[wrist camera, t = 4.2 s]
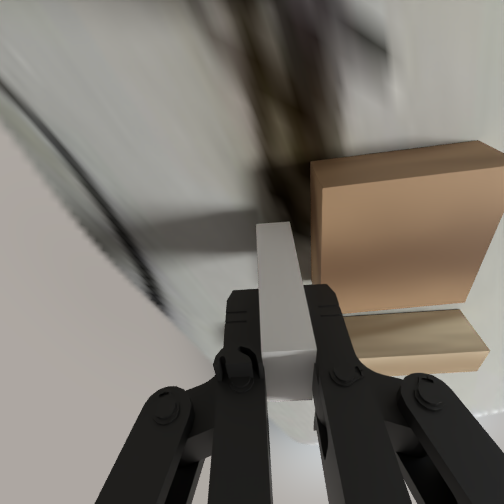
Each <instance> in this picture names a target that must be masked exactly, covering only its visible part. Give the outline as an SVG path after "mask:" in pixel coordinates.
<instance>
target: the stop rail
mask: <svg viewBox="0 0 504 504" xmlns="http://www.w3.org/2000/svg"><path fill="white" fill-rule="evenodd" d="M343 318H344V321H345V324H346V327H347V330H348V333H349V336H350V339H351V342H352V345H353V349H354V351H355V354H356V356H357V357H358V359H359V360H360V361H361V363H363V364H364V365H365V366H366V367H367V368H369V369H371V370H372V371H374V372H377V373H380V374H383V375H387V376H400V375H410V374H411V373H425V374H436V373H453V372H471V371H477V370H478V369H479V367H480V366H481V364H482V363H483V361H484V360H485V358H486V357H487V355H488V354H489V352H490V350H489V349H488V347H487V346H486V344H485V343H484V342H483V340H482V339H481V338H480V336H479V335H478V334H477V332H476V331H475V330H474V328H473V327H472V325H471V324H470V323H469V321H468V320H467V319H466V317H465V316H464V315H463V313H462V312H461V311H460V309H459V310H443V311H428V312H412V313H397V314H381V315H366V316H350V317H343Z"/></svg>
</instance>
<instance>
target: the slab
mask: <svg viewBox="0 0 504 504" xmlns="http://www.w3.org/2000/svg"><path fill="white" fill-rule="evenodd" d="M310 194H311V281H312V285H314V284H327V285H328V286H329V287H330V288H331V289H332V290H333V291H334V292H335V293H336V296H337V299H338V302H339V307H340V309H341V312H342V314H346V313H356V312H367V311H378V310H388V309H399V308H410V307H420V306H431V305H442V304H452V303H463V302H465V301H466V298H467V296H468V294H469V291H470V289H471V287H472V284H473V282H474V280H475V277H476V275H477V273H478V271H479V268H480V266H481V264H482V261H483V259H484V257H485V254H486V252H487V250H488V247H489V245H490V243H491V240H492V238H493V236H494V233H495V231H496V229H497V226H498V224H499V222H500V219H501V217H502V215H503V213H504V153H502V152H500V151H498V150H496V149H494V148H492V147H490V146H488V145H486V144H484V143H482V142H480V141H478V140H477V141H469V142H461V143H453V144H445V145H437V146H429V147H421V148H413V149H405V150H397V151H389V152H381V153H373V154H365V155H357V156H350V157H342V158H334V159H326V160H318V161H310Z"/></svg>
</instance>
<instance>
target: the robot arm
mask: <svg viewBox="0 0 504 504" xmlns="http://www.w3.org/2000/svg"><path fill="white" fill-rule="evenodd" d="M256 237H257V261H258V284H259V289H247V290H233V291H232V293H231V295H230V296H229V298H228V300H227V307H226V321H225V322H226V324H225V334H224V348H223V349H221V350H220V352H219V353H218V354H217V355H216V357H215V360H214V363H213V367H214V370H215V374H216V375H215V376H214V377H213V378H212V379H211V380H209V381H208V382H206V383H204V384H202V385H200V386H197V387H194V388H192V389H189V390H186V391H185V390H184V389H181V388H179V387H177V386H170V387H165V388H162V389H160V390H158V391H157V392H155V393H154V394H153V395H151V396H150V397H149V399H148V400H147V402H146V403H145V405H144V406H143V408H142V410H141V412H140V414H139V416H138V418H137V420H136V422H135V424H134V426H133V428H132V430H131V432H130V434H129V436H128V438H127V440H126V442H125V444H124V446H123V448H122V450H121V452H120V454H119V456H118V458H117V460H116V462H115V464H114V466H113V468H112V470H111V472H110V474H109V476H108V478H107V480H106V482H105V484H104V486H103V488H102V490H101V492H100V494H99V496H98V498H97V500H96V502H95V504H191V503H192V500H193V497H194V494H195V490H196V487H197V484H198V480H199V477H200V474H201V470H202V467H203V463H204V460H205V458H206V457H209V456H211V455H212V456H211V468H210V481H209V483H210V484H209V493H208V504H273V496H272V479H271V460H270V442H269V423H268V410H267V402H278V401H298V400H312V397H313V398H314V404H315V417H314V430H317V435H318V441H319V447H320V453H321V459H322V465H323V471H324V477H325V483H326V489H327V495H328V501H329V504H412V502H411V500H410V496H409V493H408V491H407V488H406V484H407V486H408V488H409V490H410V491H411V493H412V495H413V497H414V499H415V500H416V502H417V504H504V453H503V452H502V450H501V449H500V448H499V447H498V446H497V444H496V443H495V442H494V441H493V439H492V438H491V437H490V436H489V435H488V433H487V432H486V431H485V430H484V429H483V428H482V426H481V425H480V424H479V422H478V421H477V420H476V419H475V418H474V416H473V415H472V414H471V413H470V411H469V410H468V409H467V408H466V407H465V405H464V404H463V403H462V402H461V401H460V399H459V398H458V397H457V396H456V394H455V393H454V392H453V391H452V390H451V389H450V388H449V387H448V386H447V385H446V384H445V383H444V382H443V381H442V380H440V379H438V378H436V377H434V376H433V375H429V374H425V373H411V374H410V375H408V376H406V377H405V378H404V380H403V379H399V378H395V377H391V376H387V375H383V374H380V373H377V372H374V371H372V370H371V369H369V368H367V367H366V366H365V365H364V364H363V363H361V361H360V360H359V359H358V357H357V356H356V354H355V351H354V349H353V345H352V342H351V339H350V336H349V333H348V330H347V327H346V324H345V321H344V318H343V316H342V312H341V309H340V307H339V302H338V299H337V296H336V293H335V292H334V291H333V290H332V289H331V288H330V287H329V286H328V285H327V284H314V285H303V282H302V277H301V272H300V268H299V263H298V258H297V253H296V249H295V244H294V239H293V235H292V230H291V225H290V222H277V223H262V224H256ZM404 480H405V481H404ZM405 482H406V484H405Z"/></svg>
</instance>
